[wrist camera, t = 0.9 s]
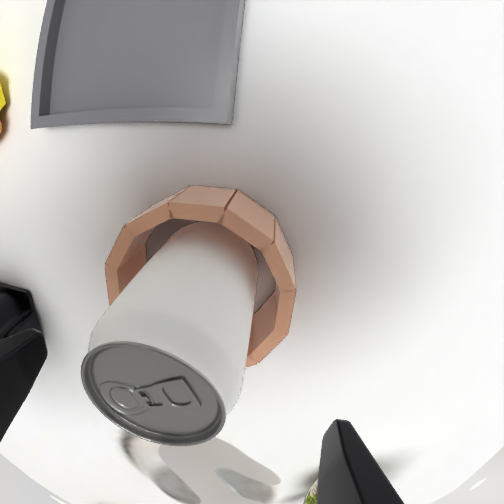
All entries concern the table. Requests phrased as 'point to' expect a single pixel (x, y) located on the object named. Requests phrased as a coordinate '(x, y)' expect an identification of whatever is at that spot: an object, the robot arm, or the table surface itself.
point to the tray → (136, 61)
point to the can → (176, 339)
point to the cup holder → (238, 221)
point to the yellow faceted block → (1, 103)
